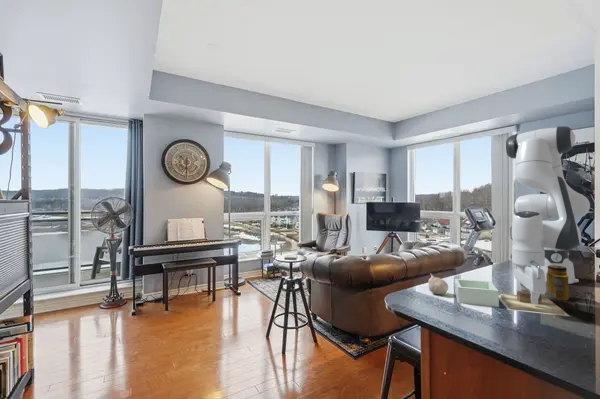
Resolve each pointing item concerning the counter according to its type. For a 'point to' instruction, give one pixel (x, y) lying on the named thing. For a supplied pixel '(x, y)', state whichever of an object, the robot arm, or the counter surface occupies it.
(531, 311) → the white square tile
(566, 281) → the condiment
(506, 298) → the oak cover
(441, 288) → the garlic bulb
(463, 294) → the mint green open box
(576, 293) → the counter surface
